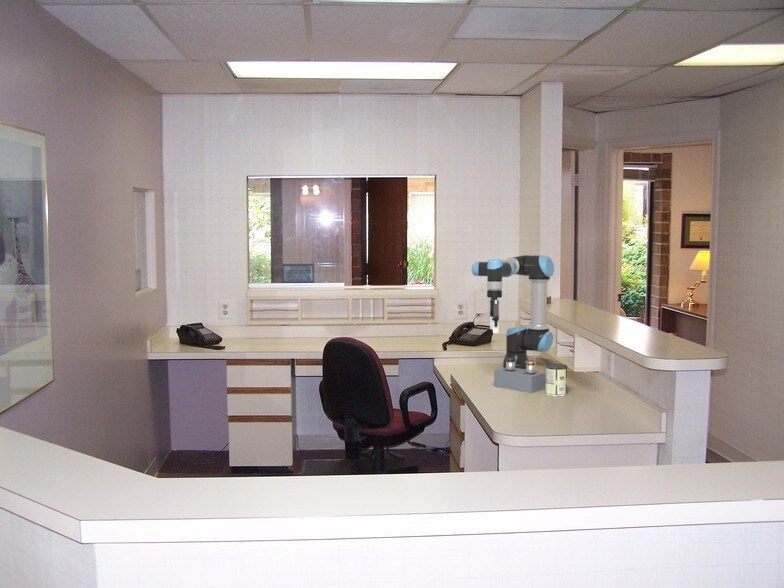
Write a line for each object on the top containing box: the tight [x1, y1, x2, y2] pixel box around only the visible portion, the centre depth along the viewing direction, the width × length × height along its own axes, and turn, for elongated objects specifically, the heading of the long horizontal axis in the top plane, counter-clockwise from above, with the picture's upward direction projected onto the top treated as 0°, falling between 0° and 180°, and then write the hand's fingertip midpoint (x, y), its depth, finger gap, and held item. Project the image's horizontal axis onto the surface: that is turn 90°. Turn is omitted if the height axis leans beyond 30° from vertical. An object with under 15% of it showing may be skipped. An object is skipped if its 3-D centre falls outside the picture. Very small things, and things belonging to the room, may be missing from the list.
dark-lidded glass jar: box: [504, 357, 516, 372], centre depth 362 cm, size 5×5×8 cm
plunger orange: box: [525, 359, 537, 375], centre depth 354 cm, size 5×5×8 cm
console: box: [493, 367, 546, 394], centre depth 358 cm, size 14×22×8 cm, turn 46°
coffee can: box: [544, 363, 568, 398], centre depth 343 cm, size 10×10×14 cm
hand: (494, 331), depth 365 cm, fingers open, 13 cm apart
